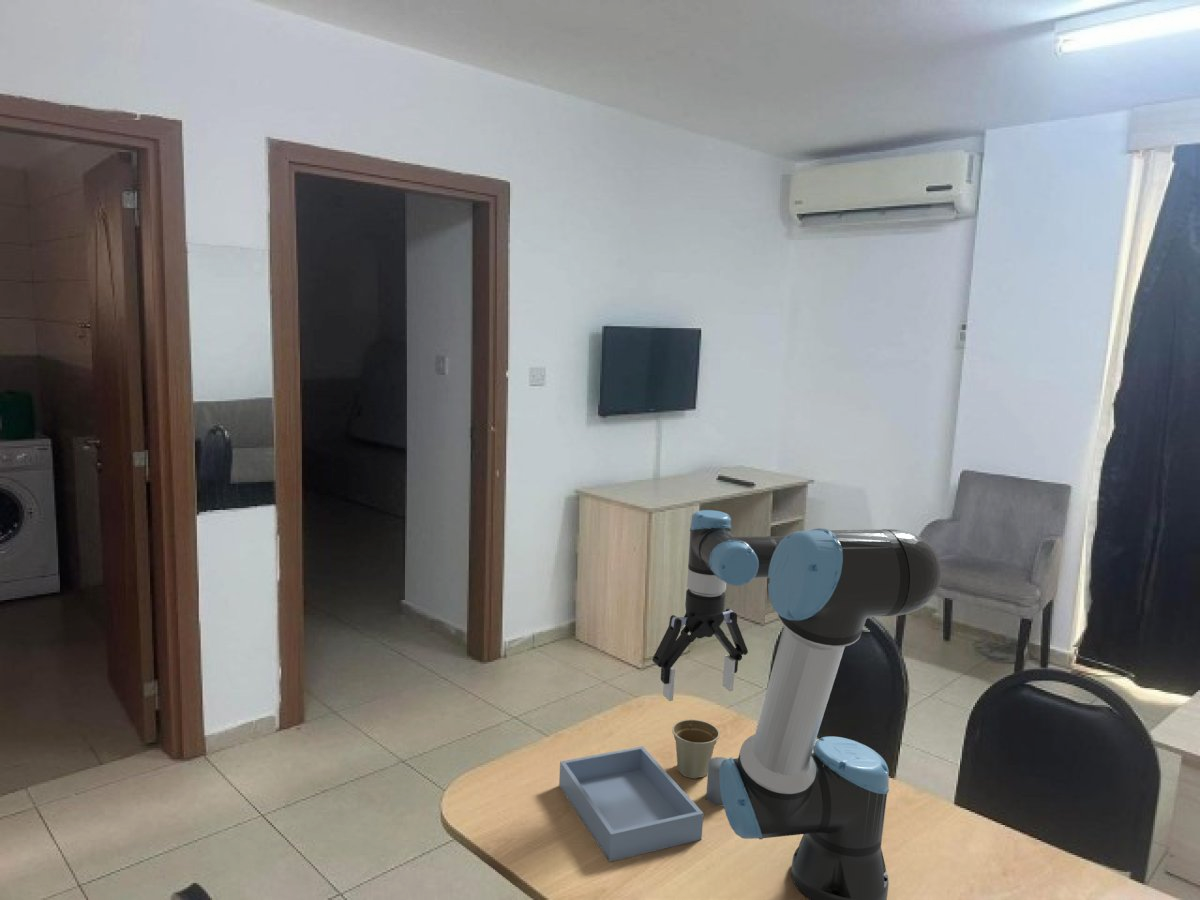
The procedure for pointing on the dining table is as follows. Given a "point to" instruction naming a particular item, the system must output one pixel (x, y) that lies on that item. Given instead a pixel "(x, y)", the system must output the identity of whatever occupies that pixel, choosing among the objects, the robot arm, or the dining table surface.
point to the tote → (629, 803)
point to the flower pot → (694, 746)
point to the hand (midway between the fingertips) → (698, 693)
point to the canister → (714, 781)
